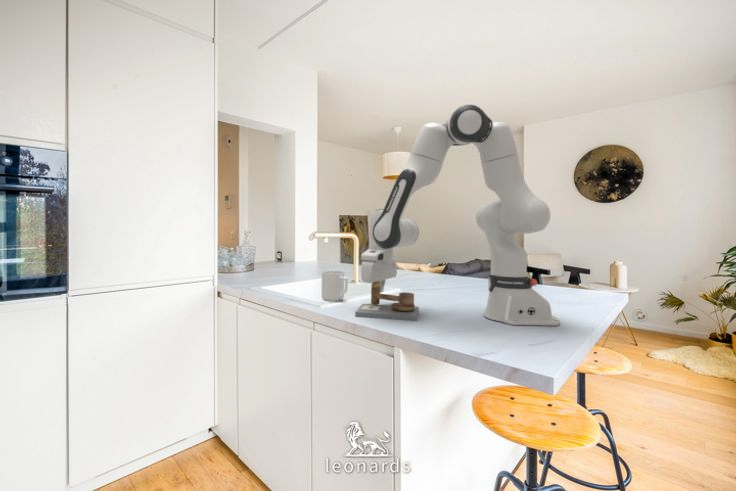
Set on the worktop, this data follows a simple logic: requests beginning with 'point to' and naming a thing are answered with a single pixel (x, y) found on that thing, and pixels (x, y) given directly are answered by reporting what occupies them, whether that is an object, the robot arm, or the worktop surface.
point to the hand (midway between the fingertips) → (379, 292)
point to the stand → (385, 312)
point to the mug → (333, 285)
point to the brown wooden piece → (393, 299)
